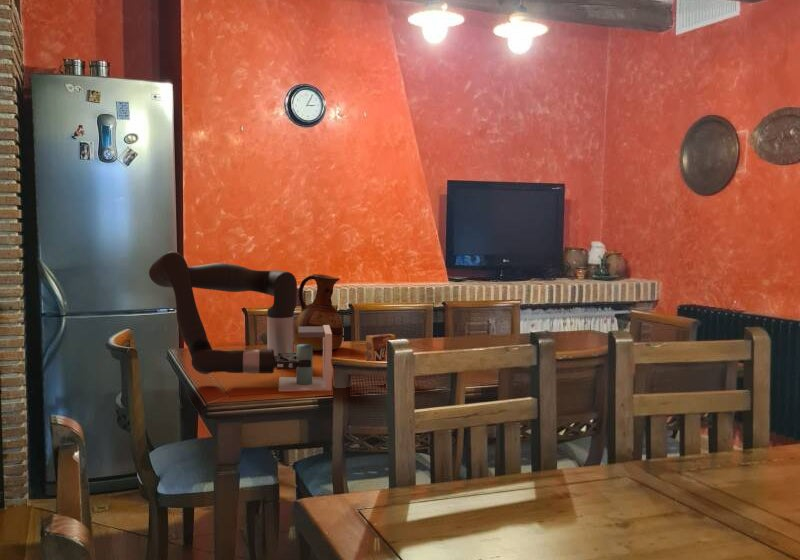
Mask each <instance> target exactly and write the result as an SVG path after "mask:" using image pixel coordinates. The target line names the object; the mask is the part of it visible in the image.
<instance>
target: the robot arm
mask: <svg viewBox="0 0 800 560" xmlns="http://www.w3.org/2000/svg"><path fill="white" fill-rule="evenodd" d="M148 276H149V278H150V279H151V281H152V282H153V283H154V284H156V285H157V286H159V287H163V288H172V289H173V292H174V296H175V305H176V306H175V310H176V322H177V326H178V329H179V332H180V335H181V337H182V340H183V342H184V343H185V345H186V347H187V349H188V352H189V355H190V356H191V357H190V358H191V366H192V368H193V369H194V370H195V371H196V372H197V373H200V374H202V375H209V374H212V373H222V372H223V373H229V374H252V375H253V374H254V375H255V374H274V372H275V367H276V370H278V371H279V370H280V371H281V370H295V371H296V369H297V368H299V367H311V360H297V352H294V350H295V349H294V345H295V344H294V324H295V316H294V315H295V311H296V308H297V298H298V297H297V296H298V295H297V294H298V283H297V279H296V276H295V275H294V274H293V273H292V272H290V271H285V270H284V271H283V270H254V269H250V268H247V267H244V266H242V265H238V264H237V265H236V264H231V263H223V262H222V263H221V262H220V263H219V262H215V263H207V264H201V265H193V266H191V265H190V266H189V265H188V263H187V260H186V259H185V257H184V256H183V255H182V254H180V253H179V252H176V251H168V252H166V253H164V254H162V256H160V257H158V259H157V260H155V261H154V262H153V264H152V265H151V266H150V267H149V269H148ZM193 289H201V290H211V291H212V290H213V291H220V292H226V293H227V292H228V293H238V292H239V293H242V292H255V293H261V294H264V295H269V296H272V297H273V304H272V305H271V306H269V307H268V308H267V311H266V312H267V317H266V319H267V322H266V323H267V328H266V329H267V330H266V331H267V332H266V333H267V338H266V339H267V348H265V349H263V348H262V349H261V348H259V349H257V348H256V349H255V348H254V349H252V348H251V349H245V350H243V349H242V350H237V349H236V350H219V349H213V348H212V346H211V343H210V342H209V339H208V337H207V333H206V329H205V327H204V324H203V321H202V319H201V317H200V314H199V311H198V307H197V304H196V298H195V296H194V290H193Z"/></svg>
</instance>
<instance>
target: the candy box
mask: <svg viewBox="0 0 800 560" xmlns="http://www.w3.org/2000/svg"><path fill="white" fill-rule="evenodd" d="M388 340H395V341H396V335H395V334H392V333H384V334H382V333H381V334H370V335H369V334H367V335H366V337H365V341H366V342H365V360H366V361H386V342H387V341H388Z"/></svg>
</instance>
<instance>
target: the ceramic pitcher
mask: <svg viewBox="0 0 800 560" xmlns="http://www.w3.org/2000/svg"><path fill="white" fill-rule="evenodd" d="M340 279H341V278H340V277H335V276H331V275H328V274H321V273H320V274H319V273H318V274H316V273H313V274H311V275H309V276H306V277H305V278H304V279H302V281H301V282H300V285H299V288H298V290H297V294H298V295H297V296H298V299H299V303H300V307H301V311H300V313H299V314H298V316H297V318H296V320H294V345H295V346H296V347H297V345H299V344H310V345H313V352H314V351H315V352H322V351H321V350H323V337H299V335H298V327H307V326H323V325H329V326H330V329H331V332H332V350H335V349H338V348H340V347H341V346H342V344H343V337H344V327H343V323H342V318H341V316H340V314H339V312H338V311H337V309H336V308H335V307H334V306H333V300H332V296H333V294H334V286H335V285H336V284H337V282H339V281H340ZM311 280H315V281H314V282H315V283H316V293H315V298H314V300H313V301H312V302H311V303H309V304H306V303H305V301H304V297H303V292H304V291H303V290H304V287H305V285H306V284H307V282H308V281H311Z"/></svg>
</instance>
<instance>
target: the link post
mask: <svg viewBox="0 0 800 560" xmlns="http://www.w3.org/2000/svg"><path fill="white" fill-rule="evenodd" d="M313 352H314V351H313V345H310V344H299V345H297V346H296V353H297V360H311V367H299V368H297V369H295V371H296V372H295V373H296V374H295V375H296V383H297V384H299V385H309V384H312V377H313V361H314V360H313V356H314V355H313Z"/></svg>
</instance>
